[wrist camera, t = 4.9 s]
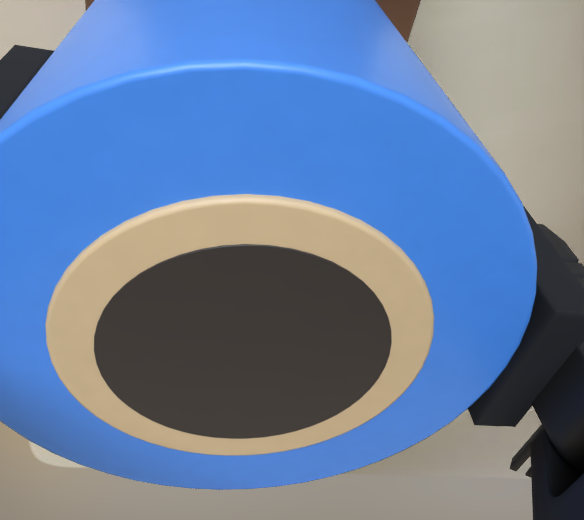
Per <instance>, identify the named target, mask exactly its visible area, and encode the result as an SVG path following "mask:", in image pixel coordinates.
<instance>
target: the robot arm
mask: <svg viewBox="0 0 584 520" xmlns="http://www.w3.org/2000/svg"><path fill="white" fill-rule="evenodd" d="M53 52H54V51H51V50H45V49H38V48H32V47H25V46H18V45H15V46H14V47H13V48H12V49H11V50H10V51H9V52H8V53H7V54H6V55H5V56H4V57H3V58H2V59H1V60H0V120H1V118H2V117H3V116H4V114H5V113H6V112H7V111H8V109H9V108H10V107H11V106H12V104H13V103H14V102H15V101H16V99H17V98H18V97H19V95H20V94H21V93H22V92H23V90H24V89H25V88H26V87H27V85H28V84H29V83H30V82H31V80H32V79H33V78H34V76H35V75H36V74H37V73H38V71H39V70H40V69H41V68H42V66H43V65H44V64H45V62H46V61H47V60H48V59H49V57H50V56H51V55H52V54H53ZM523 207H524V206H523ZM524 210H525V213H526V215H527V218H528V221H529V224H530V226H531V229H532V232H533V238H534V245H535V251H536V258H537V280H536V295H535V300H534V304H533V308H532V313H531V317H530V321H529V323H528V325H527V328H526V330H525V333H524V335H523V338H522V340H521V342H520V345H519V346H518V348H517V350H516V351H515V353H514V355H513V356H512V358H511V360H510V361H509V363H508V365H507V366H506V368H505V369H504V370H503V371H502V373H501V374H500V375H499V376H498V378H497V379H496V380H495V381H494V383H493V384H492V385H491V386H490V388H489V389H488V390H487V391H486V392H485V393H484V394H483V395H482V396H481V397H480V398H479V399H478V400H477V401H476V402H474V403H473V404H472V405H471V406H470V407H469V408H468V410H469V412H470V415H471V417H472V420H473V423H474V425H487V426H513V427H515V426H516V425H517V424H518V423H519V421H520V420H521V419H522V418H523V416H524V415H525V414H526V413H527V411H528V410H529V409H530V408H531V406H532V405H533V407H534V409H535V411H536V413H537V415H538V417H539V419H540V421H541V423H542V425H541V426H540V427H539V428H538V429H537V430H536V432H535V433H534V434H533V435H532V436H531V437H530V439H529V440H528V441H527V442H526V443H525V444H524V446H523V447H522V448H521V449H520V450H519V451H518V452H517V454H516V455H515V456H514V457H513V458H512V462H511V466H510V469H512V470H514V471H517V470H518V469H519V468H520V467H521V465H522V464H523V463H524V462H525V461H526V460H527V459H528V458H529V457H531V467H530V468H529V469H528V471H527V472H526V476H529V477H531V478H532V500H533V520H584V266H583V265H582V264H580V263H578V261H579V260H578V258H577V257H576V256H575V254H574V253H573V252H572V251H571V249H570V248H569V247H568V245H567V244H566V243H565V241H563V240H562V239H561V238H559V237H558V236H557V235H556V234H554V233H553V232H552V231H551V230H549V229H548V228H547V227H546V226H544V225H543V224H536V222H535V221H534V220H533V218H532V217H531V215H530V214H529V213H528V211H527V210H526V209H525V207H524Z"/></svg>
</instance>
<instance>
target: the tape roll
mask: <svg viewBox="0 0 584 520" xmlns="http://www.w3.org/2000/svg"><path fill="white" fill-rule="evenodd" d="M536 280H537V258H536V251H535V245H534V238H533V232H532V229H531V226H530V224H529V221H528V218H527V215H526V213H525V210H524V207H523V204H522V202H521V200H520V199H519V197H518V195H517V194H516V192H515V190H514V189H513V187H512V185H511V183H510V182H509V180H508V178H507V177H506V175H505V173H504V172H503V171H502V169H501V168H500V167H499V165H498V164H497V163H496V161H495V160H494V159H493V157H492V156H491V155H490V153H489V152H488V151H487V149H486V148H485V147H484V145H483V144H482V143H481V141H480V140H479V139H478V137H477V136H476V135H475V133H474V132H473V131H472V129H471V128H470V127H469V125H468V124H467V122H466V121H465V120H464V118H463V117H462V116H461V114H460V113H459V112H458V110H457V109H456V108H455V106H454V105H453V104H452V102H451V101H450V100H449V98H448V97H447V96H446V94H445V93H444V92H443V90H442V89H441V88H440V86H439V85H438V84H437V82H436V81H435V80H434V78H433V77H432V76H431V74H430V73H429V72H428V70H427V69H426V68H425V66H424V65H423V64H422V62H421V61H420V60H419V58H418V57H417V56H416V54H415V53H414V52H413V50H412V49H411V48H410V46H409V45H408V44H407V42H406V41H405V40H404V38H403V37H402V36H401V34H400V33H399V32H398V30H397V29H396V28H395V26H394V25H393V24H392V22H391V21H390V20H389V18H388V17H387V16H386V14H385V13H384V12H383V10H382V9H381V8H380V6H379V5H378V4H377V2H376V1H375V0H94V2H93V3H92V4H91V5H90V7H89V8H88V9H87V11H86V12H85V13H84V14H83V16H82V17H81V18H80V19H79V21H78V22H77V23H76V24H75V26H74V27H73V28H72V30H71V31H70V32H69V33H68V35H67V36H66V37H65V38H64V40H63V41H62V42H61V43H60V45H59V46H58V47H57V49H56V50H55V51H54V52H53V54H52V55H51V56H50V57H49V59H48V60H47V61H46V62H45V64H44V65H43V66H42V68H41V69H40V70H39V71H38V73H37V74H36V75H35V76H34V78H33V79H32V80H31V82H30V83H29V84H28V85H27V87H26V88H25V89H24V90H23V92H22V93H21V94H20V95H19V97H18V98H17V99H16V101H15V102H14V103H13V104H12V106H11V107H10V108H9V109H8V111H7V112H6V113H5V114H4V116H3V117H2V118H1V120H0V421H1V422H2V423H3V424H5V425H6V426H8V427H9V428H11V429H12V430H14V431H15V432H17V433H18V434H20V435H21V436H23V437H25V438H26V439H28V440H29V441H31V442H33V443H35V444H37V445H39V446H41V447H43V448H45V449H46V450H48V451H50V452H52V453H54V454H57V455H59V456H61V457H64V458H66V459H68V460H71V461H73V462H76V463H78V464H80V465H83V466H86V467H89V468H93V469H96V470H99V471H102V472H105V473H108V474H112V475H116V476H120V477H124V478H128V479H132V480H136V481H142V482H147V483H153V484H159V485H166V486H175V487H184V488H195V489H218V490H220V489H222V490H223V489H254V488H266V487H277V486H283V485H290V484H297V483H303V482H308V481H313V480H317V479H322V478H326V477H331V476H334V475H338V474H342V473H345V472H349V471H352V470H356V469H358V468H361V467H364V466H367V465H369V464H372V463H375V462H378V461H381V460H383V459H385V458H387V457H390V456H392V455H394V454H396V453H399V452H401V451H403V450H405V449H407V448H409V447H411V446H413V445H414V444H416V443H418V442H420V441H422V440H424V439H426V438H427V437H429V436H431V435H432V434H434V433H435V432H437V431H438V430H440V429H441V428H443V427H444V426H446V425H447V424H449V423H450V422H452V421H453V420H454V419H455V418H457V417H458V416H459V415H460V414H462V413H463V412H464V411H465V410H467V409H468V408H469V407H470V406H471V405H472V404H473V403H474V402H476V401H477V400H478V399H479V398H480V397H481V396H482V395H483V394H484V393H485V392H486V391H487V390H488V389H489V388H490V386H491V385H492V384H493V383H494V381H495V380H496V379H497V378H498V376H499V375H500V374H501V373H502V371H503V370H504V369H505V368H506V366H507V365H508V363H509V361H510V360H511V358H512V356H513V355H514V353H515V351H516V350H517V348H518V346H519V345H520V342H521V340H522V338H523V335H524V333H525V330H526V328H527V325H528V323H529V321H530V317H531V313H532V308H533V304H534V300H535V295H536Z"/></svg>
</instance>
